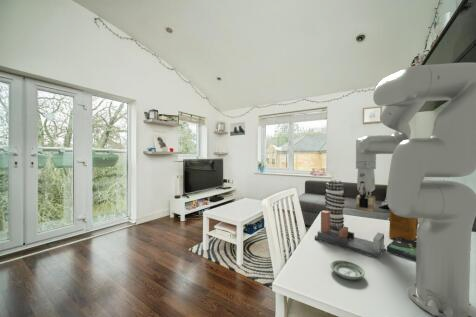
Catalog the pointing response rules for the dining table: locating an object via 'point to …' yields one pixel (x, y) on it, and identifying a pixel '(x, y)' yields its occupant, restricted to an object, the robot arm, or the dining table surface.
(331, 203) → the decorative candle
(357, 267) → the saucer
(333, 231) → the reddish brown stepped block
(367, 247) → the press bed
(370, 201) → the maple block
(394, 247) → the disk drive
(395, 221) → the coffee package
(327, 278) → the dining table surface
